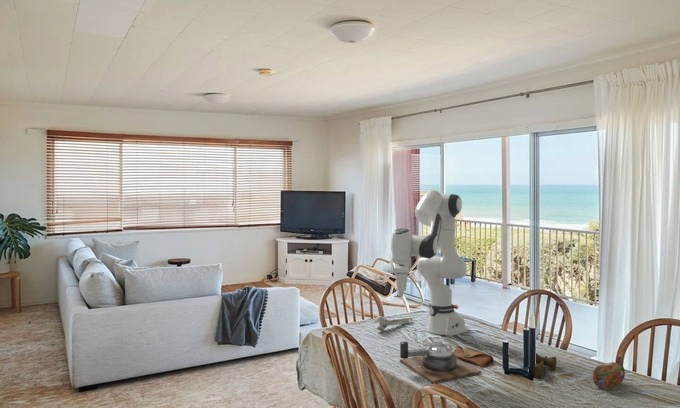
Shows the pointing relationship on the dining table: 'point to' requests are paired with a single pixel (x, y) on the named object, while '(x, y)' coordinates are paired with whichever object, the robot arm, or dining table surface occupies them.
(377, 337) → the dining table surface
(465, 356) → the sunglasses case
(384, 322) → the wrench
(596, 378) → the mottled orange oval
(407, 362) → the square wooden board
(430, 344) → the grey crank handle
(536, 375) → the kendama
